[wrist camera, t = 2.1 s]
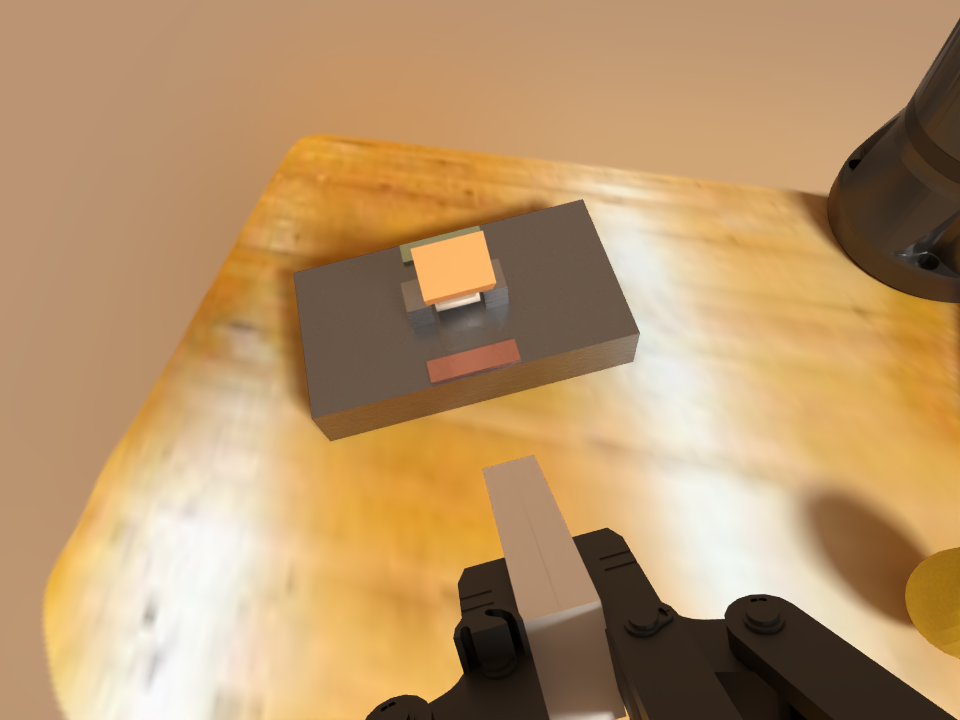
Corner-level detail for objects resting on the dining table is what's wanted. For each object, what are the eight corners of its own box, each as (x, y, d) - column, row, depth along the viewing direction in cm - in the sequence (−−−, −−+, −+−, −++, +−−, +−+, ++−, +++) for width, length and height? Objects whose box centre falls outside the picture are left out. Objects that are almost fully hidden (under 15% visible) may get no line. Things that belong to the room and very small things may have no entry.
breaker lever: (474, 265, 45) (482, 230, 31) (484, 302, 45) (496, 282, 32) (424, 278, 45) (410, 248, 31) (433, 315, 45) (424, 301, 31)
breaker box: (580, 233, 52) (584, 180, 47) (633, 361, 46) (643, 316, 41) (311, 302, 51) (283, 256, 46) (330, 441, 45) (301, 406, 40)
